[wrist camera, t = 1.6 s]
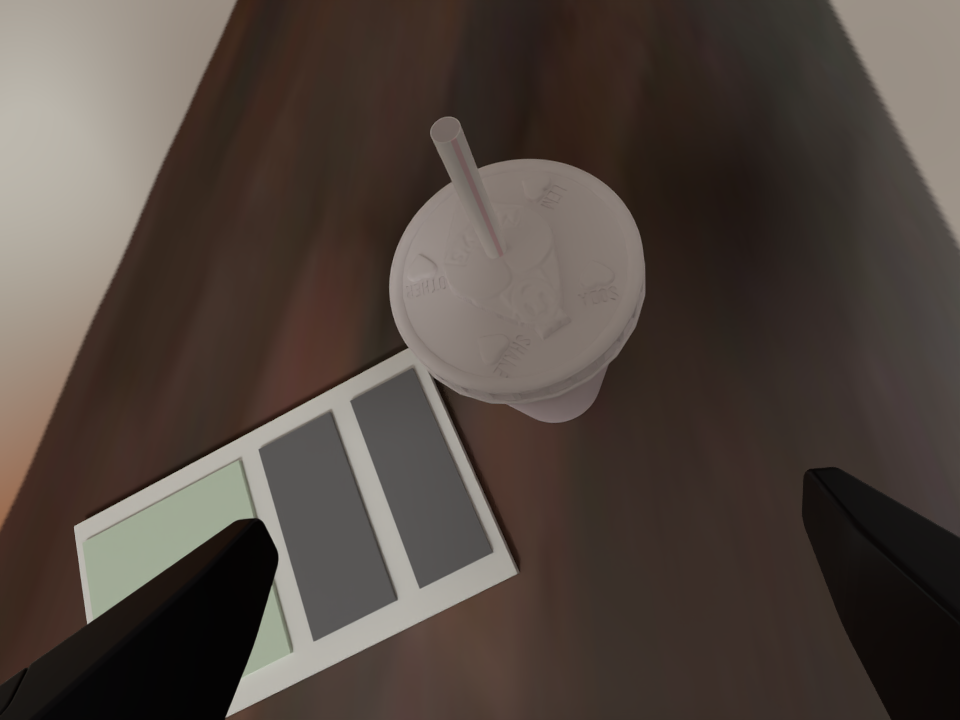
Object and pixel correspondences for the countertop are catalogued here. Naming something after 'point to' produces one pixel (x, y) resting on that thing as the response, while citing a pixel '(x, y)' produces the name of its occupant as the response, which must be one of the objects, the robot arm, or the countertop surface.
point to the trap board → (321, 523)
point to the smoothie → (518, 281)
